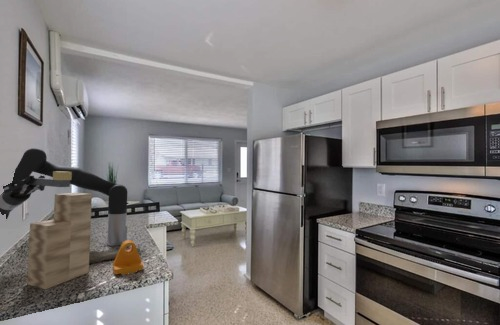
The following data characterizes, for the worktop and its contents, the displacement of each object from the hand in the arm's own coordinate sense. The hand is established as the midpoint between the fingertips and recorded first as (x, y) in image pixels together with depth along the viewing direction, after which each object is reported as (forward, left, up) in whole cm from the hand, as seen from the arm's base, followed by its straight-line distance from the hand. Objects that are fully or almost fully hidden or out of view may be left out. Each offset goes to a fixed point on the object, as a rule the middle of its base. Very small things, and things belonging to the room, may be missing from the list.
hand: (38, 177), depth 97 cm
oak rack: (-8, +5, -39) cm, 40 cm away
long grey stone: (-24, -8, -39) cm, 47 cm away
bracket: (-30, +13, -39) cm, 51 cm away
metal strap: (-3, +5, -3) cm, 6 cm away
